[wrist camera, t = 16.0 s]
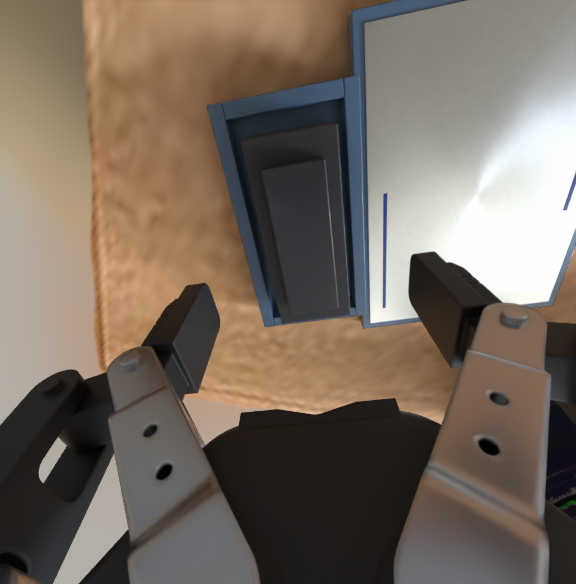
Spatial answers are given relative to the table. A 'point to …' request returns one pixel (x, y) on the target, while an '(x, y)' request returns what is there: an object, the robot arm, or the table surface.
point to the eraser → (301, 218)
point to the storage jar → (561, 461)
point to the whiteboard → (466, 145)
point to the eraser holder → (279, 116)
